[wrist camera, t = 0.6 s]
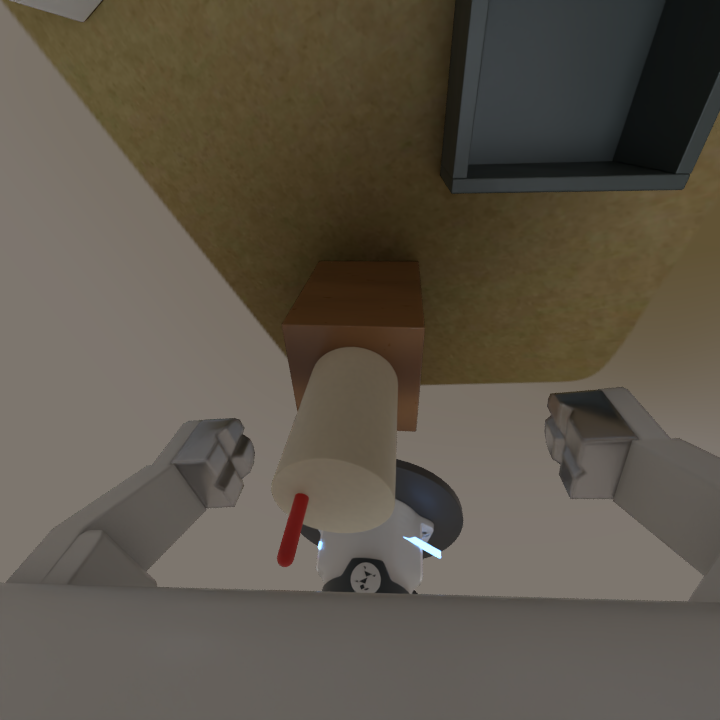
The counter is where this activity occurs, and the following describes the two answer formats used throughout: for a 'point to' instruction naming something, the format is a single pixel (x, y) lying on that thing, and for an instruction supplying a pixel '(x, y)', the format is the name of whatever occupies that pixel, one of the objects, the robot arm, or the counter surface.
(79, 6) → the milk
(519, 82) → the bin
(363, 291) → the brown rectangular block
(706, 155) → the counter surface
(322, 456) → the cream candle
